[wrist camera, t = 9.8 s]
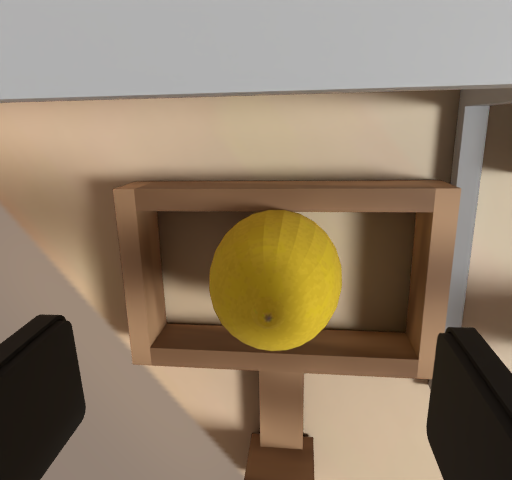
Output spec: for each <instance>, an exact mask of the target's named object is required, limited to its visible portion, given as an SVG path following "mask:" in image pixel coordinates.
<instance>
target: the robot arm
mask: <svg viewBox="0 0 512 480" xmlns="http://www.w3.org/2000/svg"><path fill="white" fill-rule="evenodd" d="M85 408H86V406H85V400H84V394H83V388H82V382H81V376H80V371H79V365H78V359H77V353H76V347H75V342H74V336H73V330H72V325H71V323H70V322H69V321H66V319H65V317H64V316H62V315H38V316H36V317H35V318H34V319H32V320H31V321H30V322H28V323H27V324H26V325H24V326H23V327H22V328H21V329H19V330H18V331H17V332H15V333H14V334H13V335H11V336H10V337H9V338H7V339H6V340H5V341H4V342H2V343H1V344H0V480H40V479H41V478H42V476H43V475H44V474H45V472H46V471H47V469H48V468H49V466H50V465H51V464H52V462H53V461H54V460H55V458H56V457H57V455H58V454H59V452H60V451H61V450H62V448H63V447H64V445H65V444H66V443H67V441H68V440H69V438H70V437H71V436H72V434H73V433H74V431H75V430H76V428H77V427H78V426H79V424H80V423H81V422H82V420H83V418H84V415H85ZM427 436H428V440H429V443H430V446H431V448H432V451H433V454H434V456H435V459H436V461H437V464H438V466H439V469H440V471H441V474H442V477H443V479H444V480H512V373H511V372H510V371H509V370H508V368H507V367H506V366H505V365H504V363H503V362H502V361H501V360H500V359H499V357H498V356H497V355H496V354H495V352H494V351H493V350H492V349H491V347H490V346H489V345H488V344H487V343H486V341H485V340H484V339H483V338H482V336H481V335H480V334H479V333H478V331H477V330H476V329H475V328H464V327H448V328H447V329H446V331H445V333H439V334H438V337H437V343H436V351H435V360H434V368H433V376H432V384H431V393H430V401H429V409H428V417H427Z"/></svg>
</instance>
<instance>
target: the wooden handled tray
mask: <svg viewBox="0 0 512 480" xmlns="http://www.w3.org/2000/svg"><path fill="white" fill-rule="evenodd" d="M113 196H114V205H115V213H116V222H117V231H118V240H119V248H120V257H121V266H122V275H123V283H124V292H125V301H126V310H127V318H128V327H129V336H130V345H131V353H132V361H133V364H136V365H154V366H174V367H194V368H214V369H234V370H254V371H259V402H260V434H257V433H252V437H251V443H250V449H249V454H248V460H247V466H246V472H245V478H244V480H314V452H313V437H303V392H304V373H315V374H335V375H355V376H375V377H395V378H415V379H432V376H433V368H434V360H435V351H436V343H437V337H438V334H439V333H445V325H446V316H447V308H448V299H449V291H450V282H451V273H452V265H453V256H454V248H455V239H456V230H457V222H458V213H459V205H460V196H461V188H459V187H457V186H454V185H452V184H449V183H447V182H444V181H442V180H381V181H152V182H133V183H130V184H127V185H124V186H121V187H118V188H115V189H113ZM267 210H287V211H291V212H416V221H415V233H414V244H413V255H412V267H411V278H410V289H409V301H408V312H407V323H406V333H401V332H374V331H347V330H321V331H320V332H319V333H318V334H317V335H316V336H315V337H314V338H313V339H311V340H310V341H308V342H306V343H305V344H303V345H301V346H299V347H295V348H292V349H289V350H281V351H268V350H262V349H257V348H254V347H252V346H249V345H247V344H244V343H243V342H241V341H240V340H238V339H237V338H235V337H234V336H232V335H231V334H230V333H229V331H228V330H227V329H226V328H225V327H224V326H214V325H187V324H167V322H166V311H165V299H164V288H163V276H162V264H161V253H160V241H159V230H158V218H157V211H248V212H263V211H267Z"/></svg>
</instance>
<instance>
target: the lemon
mask: <svg viewBox="0 0 512 480" xmlns="http://www.w3.org/2000/svg"><path fill="white" fill-rule="evenodd" d="M341 288H342V273H341V264H340V261H339V257H338V254H337V251H336V248H335V246H334V245H333V243H332V242H331V240H330V238H329V237H328V235H327V234H326V232H325V231H323V230H322V229H321V228H320V227H319V226H318V225H317V224H316V223H315V222H314V221H312V220H310V219H308V218H307V217H305V216H303V215H301V214H299V213H295V212H291V211H287V210H267V211H263V212H259V213H255V214H252V215H250V216H248V217H247V218H245V219H243V220H241V221H239V222H238V223H237V224H236V225H235V226H234V227H233V228H232V229H230V230H229V231H228V232H227V233H226V234H225V236H224V237H223V239H222V241H221V242H220V244H219V245H218V247H217V249H216V251H215V254H214V257H213V261H212V264H211V267H210V280H209V291H210V296H211V300H212V304H213V308H214V310H215V312H216V314H217V316H218V318H219V320H220V321H221V323H222V325H223V326H224V327H225V328H226V329H227V330H228V331H229V333H230V334H231V335H232V336H234V337H235V338H237V339H238V340H240V341H241V342H243V343H244V344H247V345H249V346H252V347H254V348H257V349H262V350H268V351H281V350H289V349H292V348H295V347H299V346H301V345H303V344H305V343H306V342H308V341H310V340H311V339H313V338H314V337H315V336H316V335H317V334H318V333H319V332H320V331H321V330H322V329H323V328H324V327H325V326H326V325H327V324H328V322H329V320H330V318H331V317H332V315H333V313H334V311H335V310H336V307H337V304H338V300H339V296H340V292H341Z"/></svg>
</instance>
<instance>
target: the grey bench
mask: <svg viewBox="0 0 512 480" xmlns="http://www.w3.org/2000/svg"><path fill="white" fill-rule="evenodd" d="M460 89H461V91H460V100H459V109H458V119H457V128H456V137H455V146H454V155H453V165H452V174H451V183H450V184H452V185H454V186H457V187H459V188H461V196H460V205H459V213H458V222H457V230H456V239H455V248H454V256H453V265H452V273H451V282H450V291H449V299H448V308H447V316H446V325H445V331H446V329H447V328H448V327H462V319H463V311H464V303H465V296H466V288H467V280H468V272H469V264H470V257H471V249H472V241H473V233H474V225H475V218H476V210H477V202H478V194H479V186H480V179H481V171H482V163H483V155H484V147H485V140H486V132H487V124H488V116H489V108H490V106H492V105H501V104H511V103H512V0H0V103H10V102H44V101H79V100H114V99H148V98H183V97H217V96H252V95H287V94H321V93H356V92H391V91H425V90H460ZM431 384H432V379H429V387H430V389H431Z"/></svg>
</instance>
